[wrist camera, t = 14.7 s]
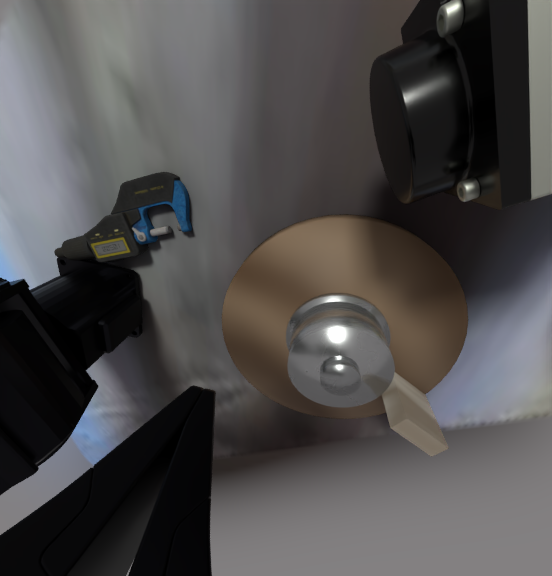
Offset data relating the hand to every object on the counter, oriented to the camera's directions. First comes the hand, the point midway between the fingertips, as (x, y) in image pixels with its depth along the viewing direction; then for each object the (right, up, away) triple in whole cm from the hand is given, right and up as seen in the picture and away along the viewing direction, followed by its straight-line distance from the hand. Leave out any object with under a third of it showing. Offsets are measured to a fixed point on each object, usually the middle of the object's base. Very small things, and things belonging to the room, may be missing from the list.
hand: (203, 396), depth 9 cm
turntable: (+7, +1, +10) cm, 12 cm away
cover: (+7, 0, +9) cm, 11 cm away
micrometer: (-9, +9, +11) cm, 17 cm away
